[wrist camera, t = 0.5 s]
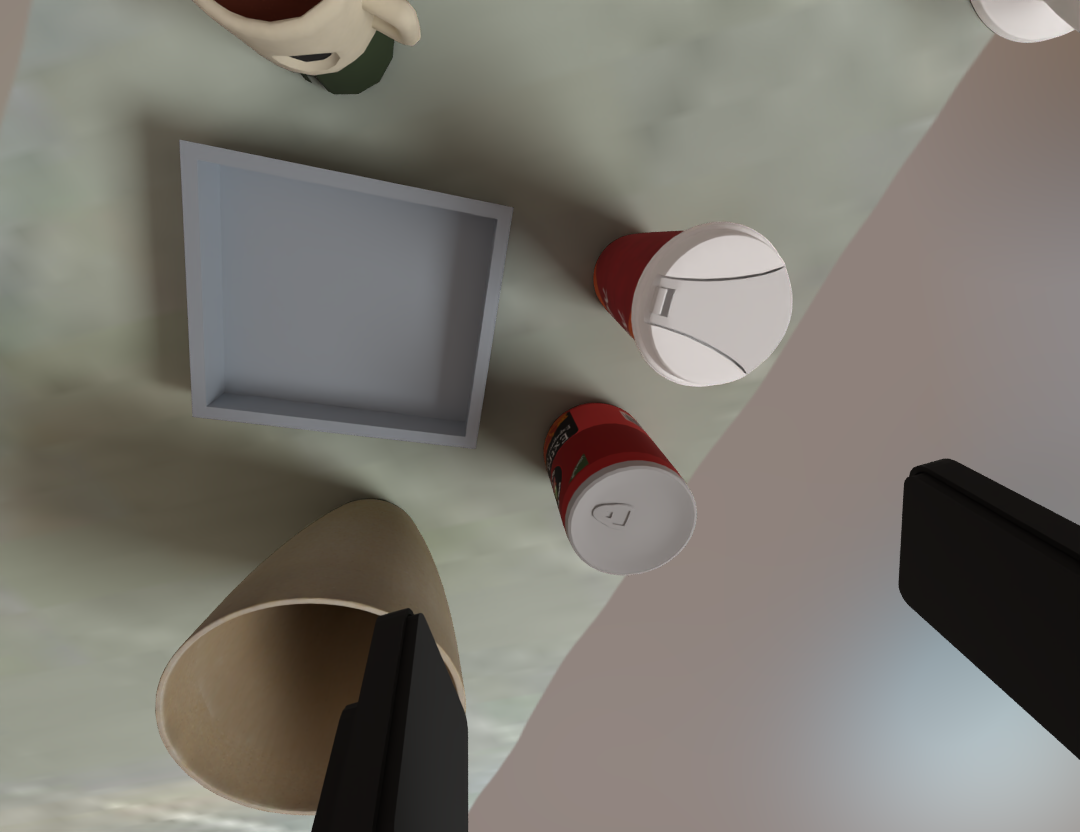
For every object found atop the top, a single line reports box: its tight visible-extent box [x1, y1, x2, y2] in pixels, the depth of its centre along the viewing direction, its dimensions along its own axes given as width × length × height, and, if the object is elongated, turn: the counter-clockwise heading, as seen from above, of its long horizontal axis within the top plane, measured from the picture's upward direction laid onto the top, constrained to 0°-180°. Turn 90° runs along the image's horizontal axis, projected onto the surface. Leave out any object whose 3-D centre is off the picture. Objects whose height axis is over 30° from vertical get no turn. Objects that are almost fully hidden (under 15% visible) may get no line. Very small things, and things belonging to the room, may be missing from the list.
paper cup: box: [593, 222, 792, 387], centre depth 30 cm, size 8×8×14 cm
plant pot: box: [155, 499, 466, 815], centre depth 34 cm, size 15×15×16 cm
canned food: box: [544, 403, 697, 575], centre depth 36 cm, size 8×8×11 cm
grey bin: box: [179, 140, 514, 449], centre depth 33 cm, size 16×18×4 cm
